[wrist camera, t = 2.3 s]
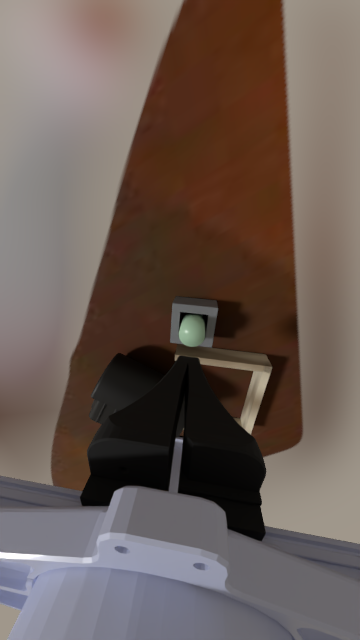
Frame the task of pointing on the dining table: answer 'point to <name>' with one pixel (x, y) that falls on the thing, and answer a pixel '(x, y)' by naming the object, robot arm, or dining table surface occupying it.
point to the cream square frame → (237, 361)
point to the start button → (192, 329)
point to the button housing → (199, 308)
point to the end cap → (124, 388)
